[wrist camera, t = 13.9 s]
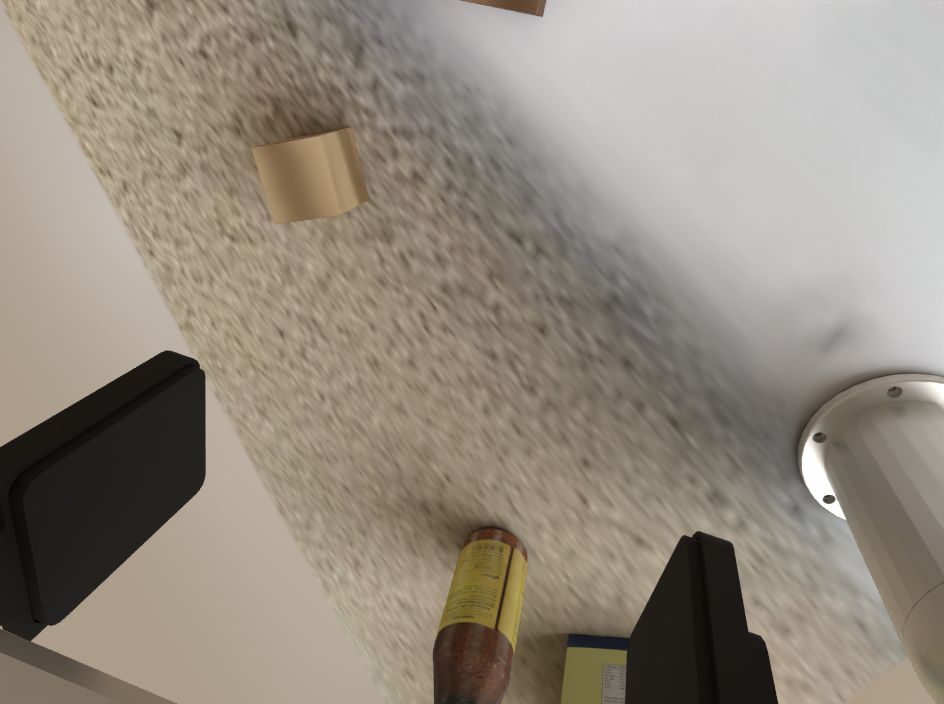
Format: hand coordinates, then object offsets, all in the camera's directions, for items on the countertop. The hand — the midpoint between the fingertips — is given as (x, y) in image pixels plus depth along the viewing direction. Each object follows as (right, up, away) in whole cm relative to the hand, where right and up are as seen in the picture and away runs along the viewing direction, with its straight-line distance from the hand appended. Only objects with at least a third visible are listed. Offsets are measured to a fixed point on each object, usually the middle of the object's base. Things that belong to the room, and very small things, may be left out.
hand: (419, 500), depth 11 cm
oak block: (-9, +16, +32) cm, 37 cm away
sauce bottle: (+3, -16, +45) cm, 48 cm away
